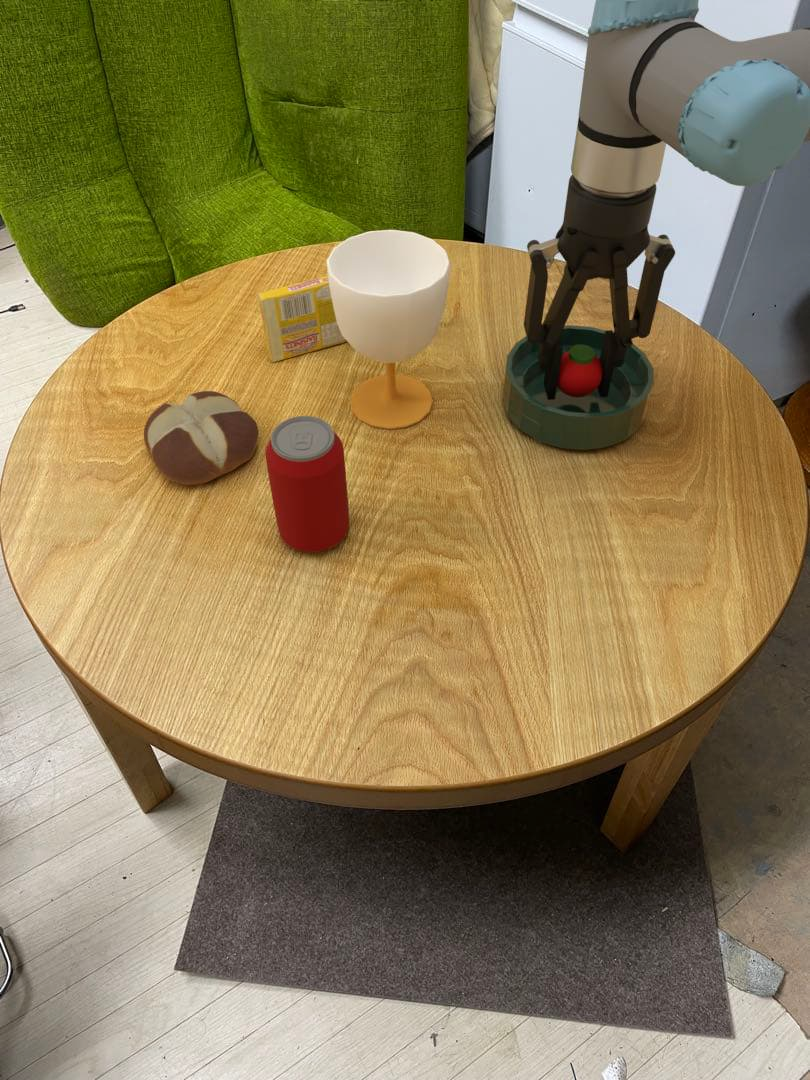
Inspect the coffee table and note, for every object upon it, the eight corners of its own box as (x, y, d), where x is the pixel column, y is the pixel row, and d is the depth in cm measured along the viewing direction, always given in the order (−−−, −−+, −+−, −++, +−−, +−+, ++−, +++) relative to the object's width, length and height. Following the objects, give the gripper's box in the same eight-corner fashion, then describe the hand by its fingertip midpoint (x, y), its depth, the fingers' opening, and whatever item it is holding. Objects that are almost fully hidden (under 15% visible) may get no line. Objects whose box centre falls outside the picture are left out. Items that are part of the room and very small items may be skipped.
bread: (167, 500, 85) (156, 464, 81) (138, 430, 92) (127, 393, 88) (274, 466, 88) (268, 429, 84) (239, 400, 95) (232, 363, 91)
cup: (422, 359, 99) (424, 220, 87) (461, 422, 92) (469, 281, 79) (324, 381, 97) (311, 242, 84) (356, 449, 90) (347, 307, 77)
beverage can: (351, 504, 84) (344, 409, 75) (348, 558, 80) (340, 464, 71) (282, 505, 84) (266, 410, 75) (275, 558, 80) (258, 464, 71)
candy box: (394, 318, 105) (392, 256, 98) (401, 328, 103) (400, 266, 97) (266, 353, 100) (256, 291, 94) (272, 363, 99) (262, 301, 93)
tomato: (604, 385, 93) (613, 345, 89) (589, 412, 90) (598, 372, 86) (560, 372, 95) (567, 332, 91) (544, 398, 92) (550, 359, 88)
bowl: (660, 384, 96) (670, 347, 92) (619, 471, 87) (629, 434, 83) (532, 348, 101) (536, 311, 97) (480, 427, 92) (483, 390, 88)
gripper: (703, 154, 78) (649, 364, 95) (504, 161, 77) (487, 371, 94) (729, 195, 73) (667, 409, 90) (516, 203, 72) (496, 417, 90)
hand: (575, 389), depth 92 cm, fingers closed on tomato, 5 cm apart
